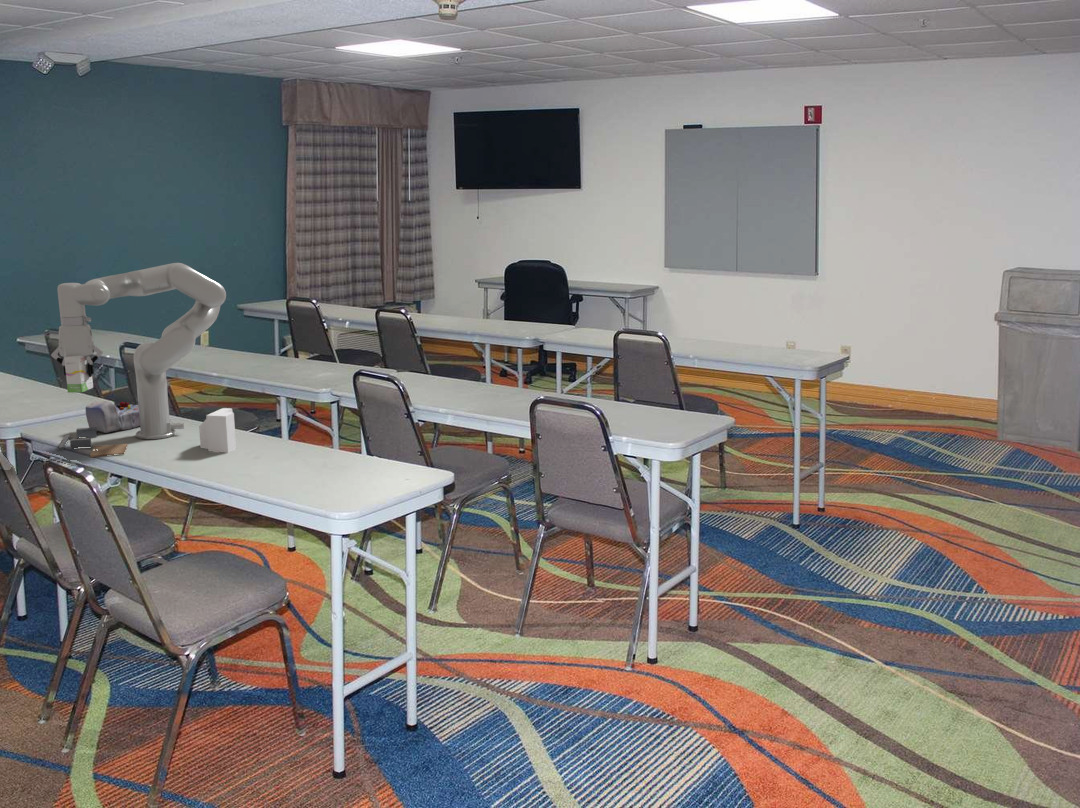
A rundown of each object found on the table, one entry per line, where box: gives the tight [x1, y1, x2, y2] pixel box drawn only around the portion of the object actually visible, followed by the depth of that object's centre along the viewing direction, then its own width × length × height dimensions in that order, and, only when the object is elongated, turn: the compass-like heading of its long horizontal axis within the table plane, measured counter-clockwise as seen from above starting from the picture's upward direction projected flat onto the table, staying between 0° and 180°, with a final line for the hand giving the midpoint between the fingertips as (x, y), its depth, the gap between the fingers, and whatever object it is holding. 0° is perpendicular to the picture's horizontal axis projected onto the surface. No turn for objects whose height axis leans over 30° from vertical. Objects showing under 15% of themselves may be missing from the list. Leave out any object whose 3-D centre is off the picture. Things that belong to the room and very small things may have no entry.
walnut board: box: [89, 443, 128, 458], centre depth 336 cm, size 10×12×1 cm
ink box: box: [63, 347, 94, 394], centre depth 341 cm, size 9×5×15 cm, turn 178°
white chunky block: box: [198, 407, 237, 454], centre depth 339 cm, size 11×11×12 cm
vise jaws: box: [57, 427, 98, 451], centre depth 346 cm, size 10×17×3 cm, turn 16°
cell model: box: [85, 400, 140, 434], centre depth 366 cm, size 13×11×20 cm
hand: (79, 376), depth 342 cm, fingers closed on ink box, 6 cm apart
